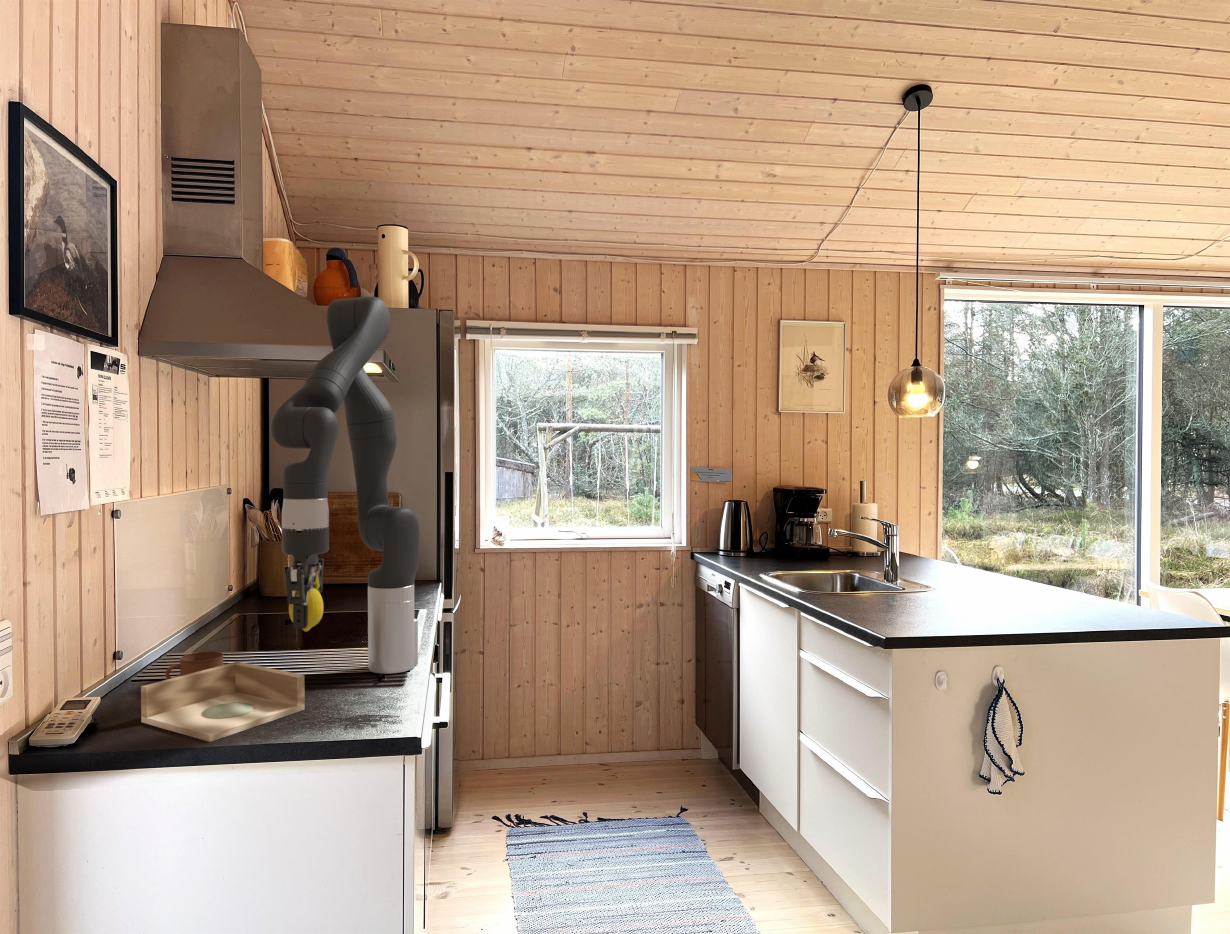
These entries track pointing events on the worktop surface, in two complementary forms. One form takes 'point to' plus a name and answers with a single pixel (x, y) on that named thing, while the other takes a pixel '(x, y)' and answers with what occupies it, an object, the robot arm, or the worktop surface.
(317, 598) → the lemon
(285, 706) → the tray
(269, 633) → the worktop surface
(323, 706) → the worktop surface
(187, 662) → the cup and saucer
